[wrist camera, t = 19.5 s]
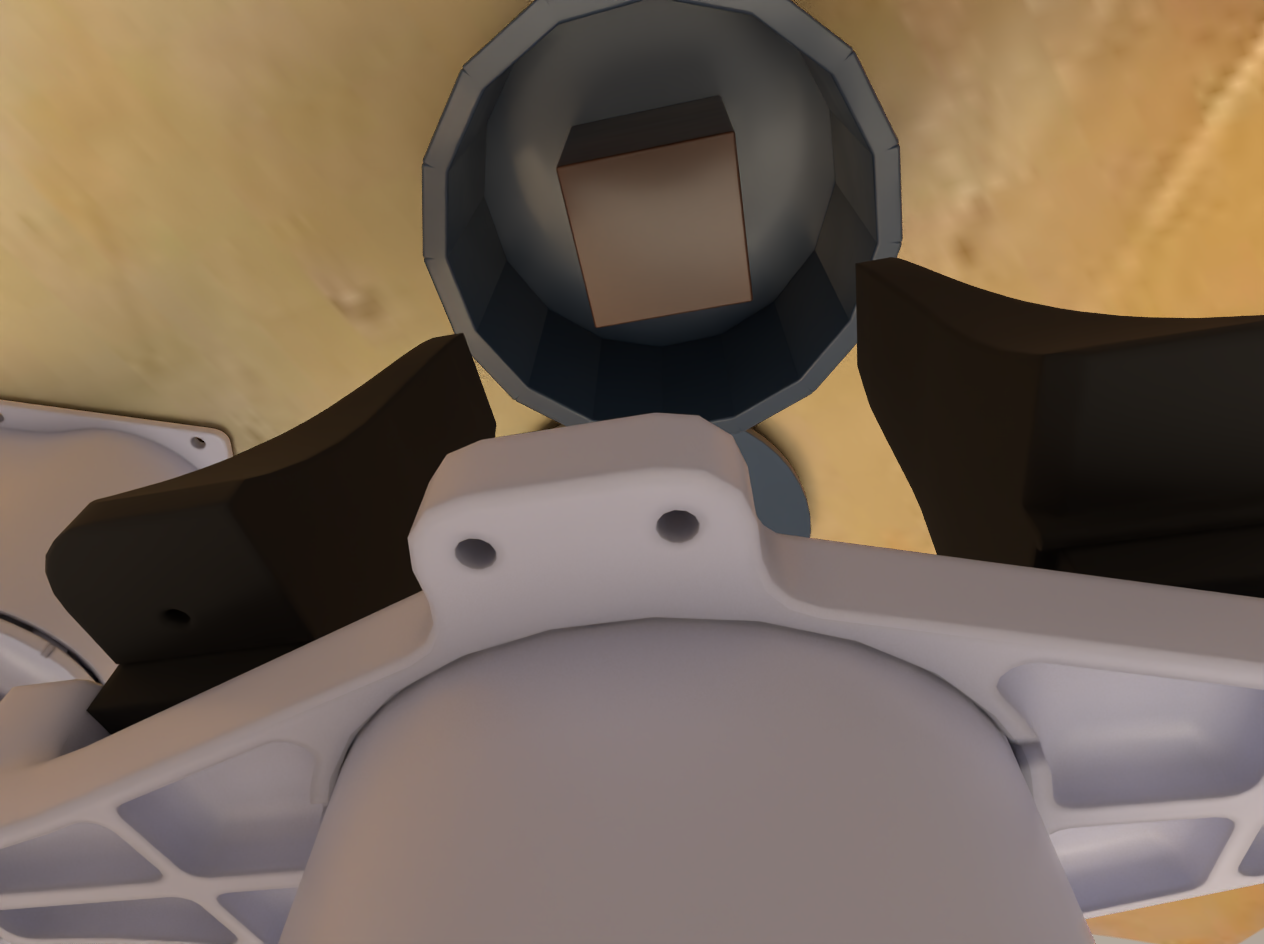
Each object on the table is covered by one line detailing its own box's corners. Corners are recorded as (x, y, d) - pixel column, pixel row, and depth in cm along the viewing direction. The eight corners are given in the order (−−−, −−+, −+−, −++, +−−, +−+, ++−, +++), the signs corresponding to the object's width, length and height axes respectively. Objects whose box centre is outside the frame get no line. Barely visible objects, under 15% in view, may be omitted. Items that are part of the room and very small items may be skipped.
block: (603, 269, 23) (595, 329, 20) (570, 126, 21) (555, 167, 17) (738, 244, 23) (753, 302, 19) (720, 94, 20) (735, 130, 17)
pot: (463, 328, 25) (424, 415, 21) (472, -86, 18) (417, -85, 14) (789, 376, 26) (817, 469, 22) (911, -2, 19) (986, 23, 15)
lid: (492, 609, 33) (473, 692, 30) (507, 368, 26) (485, 440, 22) (761, 641, 34) (774, 726, 31) (848, 418, 27) (878, 494, 23)
